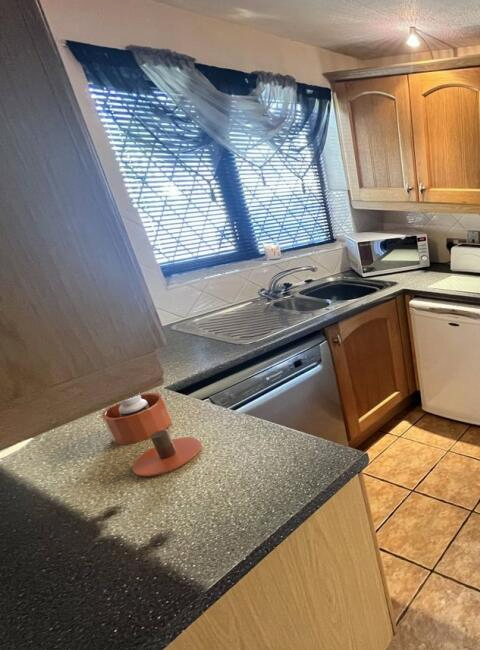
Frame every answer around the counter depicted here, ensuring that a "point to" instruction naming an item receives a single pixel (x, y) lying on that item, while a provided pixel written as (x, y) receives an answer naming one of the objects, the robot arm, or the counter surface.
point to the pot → (138, 420)
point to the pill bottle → (132, 406)
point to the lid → (166, 454)
